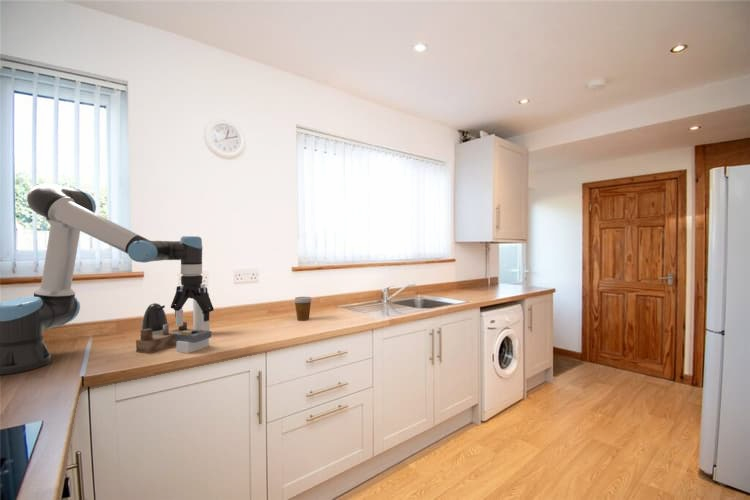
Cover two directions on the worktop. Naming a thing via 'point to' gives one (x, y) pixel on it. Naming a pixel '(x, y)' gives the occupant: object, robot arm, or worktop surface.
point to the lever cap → (192, 335)
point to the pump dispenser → (154, 318)
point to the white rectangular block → (191, 346)
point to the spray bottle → (198, 315)
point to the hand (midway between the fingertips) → (191, 327)
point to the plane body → (157, 339)
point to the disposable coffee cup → (303, 308)
